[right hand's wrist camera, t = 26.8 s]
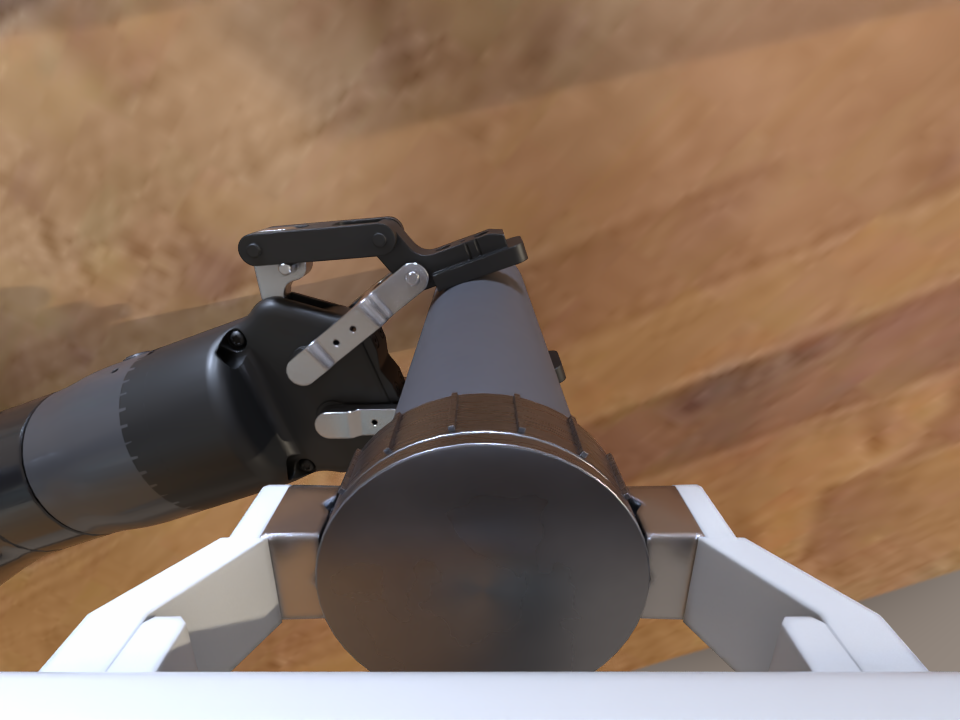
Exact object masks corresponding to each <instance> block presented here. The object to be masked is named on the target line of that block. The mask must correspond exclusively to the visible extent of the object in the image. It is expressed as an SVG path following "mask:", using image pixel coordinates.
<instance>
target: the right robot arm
mask: <svg viewBox="0 0 960 720" xmlns="http://www.w3.org/2000/svg"><path fill="white" fill-rule="evenodd" d="M626 487H627V490H628V492H629V494H630V496H631V498H629V499H628V502H629V504H630V506H631V509H632V511H633V513H634V516H635V518H636V520H637V523H638V525H639V527H640V530H641V532H642V534H643V537H644V539H645V543H646V547H647V551H648V555H649V564H650V582H649V592H648V596H647V600H646V603H645V607H644V610H643V612H642V615H641V617H640V618H649V619H683V622H684V623H685V624H686V625H687V626H688V627H689V628H690V629H691V630H692V631H693V632H694V633H695V634H697V635H698V636H699V637H700V638H701V639H702V640H703V641H704V642H705V643H706V644H707V645H708V646H709V647H710V648H711V649H712V650H713V651H714V652H715V653H716V654H717V655H719V657H721V658H722V659H723V660H724V661H725V662H726V663H727V664H728V665H729V666H730V667H731V668H732V669H733V670H734V671H735V672H231V671H232V670H233V669H234V668H235V667H236V666H237V665H238V664H239V663H240V662H241V661H242V660H243V659H244V658H245V657H246V656H247V655H248V654H249V653H251V652H252V651H253V650H254V649H255V648H256V647H257V646H258V645H259V644H260V643H261V642H262V641H263V640H264V639H265V638H266V637H267V636H268V635H269V634H270V633H271V632H272V631H273V630H274V629H275V628H276V627H277V626H279V625H280V624H281V623H282V619H315V618H325V617H324V614H323V612H322V609H321V606H320V604H319V599H318V594H317V589H316V575H315V566H316V559H317V552H318V548H319V545H320V542H321V538H322V535H323V532H324V530H325V528H326V525H327V523H328V521H329V514H330V511H331V509H333V508H334V506H335V504H336V501H337V499H338V496H339V494H340V493H338V491H339V488H340V486H324V485H267V486H264V487H263V488H262V489H261V491H260V492H259V494H258V495H257V497H256V498H255V500H254V501H253V503H252V504H251V506H250V507H249V509H248V510H247V512H246V513H245V515H244V516H243V518H242V519H241V521H240V522H239V524H238V525H237V527H236V528H235V530H234V531H233V533H232V534H231V536H230V537H229V538H220V539H218V540H216V541H215V542H213V543H211V544H209V545H208V546H206V547H204V548H202V549H201V550H199V551H197V552H196V553H194V554H192V555H190V556H189V557H187V558H185V559H183V560H182V561H180V562H178V563H176V564H175V565H173V566H171V567H169V568H168V569H166V570H164V571H162V572H161V573H159V574H157V575H155V576H154V577H152V578H150V579H148V580H147V581H145V582H143V583H141V584H140V585H138V586H136V587H134V588H133V589H131V590H129V591H127V592H126V593H124V594H122V595H121V596H119V597H117V598H115V599H114V600H112V601H110V602H108V603H107V604H105V605H103V606H101V607H100V608H98V609H96V610H94V611H93V612H91V613H89V614H88V615H87V616H86V617H85V618H84V619H83V620H82V622H81V623H80V624H79V625H78V626H77V627H76V629H75V630H74V631H73V632H72V633H71V634H70V636H69V637H68V638H67V639H66V640H65V641H64V642H63V644H62V645H61V646H60V647H59V648H58V649H57V651H56V652H55V653H54V654H53V655H52V656H51V658H50V659H49V660H48V661H47V662H46V663H45V664H44V666H43V667H42V668H41V669H40V670H39V671H38V672H0V720H960V672H929V670H928V669H927V668H926V667H925V666H924V665H923V664H922V662H921V661H920V660H919V659H918V658H917V657H916V656H915V654H914V653H913V652H912V651H911V650H910V649H909V648H908V646H907V645H906V644H905V643H904V642H903V641H902V640H901V638H900V637H899V636H898V635H897V634H896V633H895V631H894V630H893V629H892V628H891V627H890V626H889V625H888V623H887V622H886V621H885V620H884V619H883V618H882V617H881V615H879V614H877V613H876V612H874V611H872V610H870V609H869V608H867V607H865V606H863V605H862V604H860V603H858V602H856V601H855V600H853V599H851V598H849V597H848V596H846V595H844V594H842V593H841V592H839V591H837V590H835V589H834V588H832V587H830V586H828V585H827V584H825V583H823V582H821V581H819V580H818V579H816V578H814V577H812V576H811V575H809V574H807V573H805V572H804V571H802V570H800V569H798V568H797V567H795V566H793V565H791V564H790V563H788V562H786V561H784V560H783V559H781V558H779V557H777V556H776V555H774V554H772V553H770V552H769V551H767V550H765V549H763V548H762V547H760V546H758V545H756V544H755V543H753V542H751V541H749V540H748V539H746V538H736V536H735V535H734V533H733V532H732V530H731V529H730V528H729V526H728V525H727V523H726V522H725V520H724V519H723V517H722V516H721V514H720V513H719V512H718V510H717V509H716V507H715V506H714V504H713V503H712V501H711V500H710V498H709V497H708V496H707V494H706V493H705V491H704V490H703V488H702V487H701V486H699V485H697V484H694V485H672V486H626Z"/></svg>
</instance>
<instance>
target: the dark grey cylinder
mask: <svg viewBox="0 0 960 720" xmlns="http://www.w3.org/2000/svg"><path fill="white" fill-rule="evenodd" d="M454 392H458V395H462V394H478V393H490V394H502V395H509V396H514V393H516V394H520V398H524V399H528V400H531V401H534V402H537V403H540V404H543V405H545V406H547V407H549V408H552V409H554V410H556V411H558V412H560V413H562V414H563V415H565V416H567V417H569V416H570V415H571V414H570V411H569V409H568V406H567V403H566V400H565V397H564V394H563V392H562V389H561V386H560V383H559V380H558V377H557V375H556V372H555V369H554V366H553V363H552V361H551V358H550V355H549V352H548V349H547V346H546V344H545V341H544V338H543V335H542V332H541V329H540V327H539V324H538V321H537V318H536V315H535V313H534V310H533V307H532V304H531V301H530V298H529V296H528V293H527V290H526V287H525V284H524V282H523V279H522V276H521V274H520V272H519V270H518V269H517V267H516V266H515V265H513V266H511V267H508V268H505V269H502V270H499V271H496V272H494V273H491V274H488V275H485V276H482V277H479V278H477V279H474V280H471V281H468V282H465V283H462V284H459V285H457V286H454V287H451V288H448V289H445V290H443V291H440V292H438V290H437V287H436V290H435V293H434V296H433V299H432V302H431V305H430V308H429V311H428V314H427V317H426V320H425V323H424V326H423V329H422V332H421V335H420V338H419V341H418V344H417V347H416V351H415V354H414V357H413V360H412V363H411V366H410V369H409V372H408V375H407V378H406V381H405V384H404V387H403V390H402V393H401V396H400V399H399V402H398V405H397V408H396V411H395V414H396V413H398V412H400V413H401V414H403V413H405V412H407V411H409V410H411V409H413V408H416V407H418V406H420V405H423V404H425V403H428V402H431V401H434V400H438V399H441V398H445V397H450V396H451V394H452V393H454ZM395 414H394V416H395ZM393 419H394V417H393Z"/></svg>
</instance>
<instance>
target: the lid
mask: <svg viewBox="0 0 960 720" xmlns="http://www.w3.org/2000/svg"><path fill="white" fill-rule="evenodd" d="M338 493H340V494H339V496H338V499H337V501H336V504H335V506H334V508H333V509H331V511H330V514H329V521H328V523H327V525H326V528H325V530H324V532H323V535H322V538H321V542H320V545H319V548H318V552H317V559H316V566H315V575H316V589H317V594H318V599H319V604H320V606H321V609H322V612H323V614H324V617H325V620H326V621H327V623H328V625H329V627H330V628H331V630H332V632H333V634H334V635H335V637H336V638H337V639H338V641H339V642H340V643H341V645H342V646H343V647H344V648H345V649H346V650H347V651H348V652H349V653H350V654H351V655H352V656H353V657H354V658H355V659H356V661H358V662H359V663H360V664H361V665H363V666H364V667H365V668H367V669H368V670H369V671H370V672H594V671H596V670H597V669H598V668H600V667H601V666H602V665H604V664H605V663H606V662H607V661H608V660H609V659H610V658H611V657H612V656H614V655H615V654H616V653H617V652H618V650H619V649H620V648H621V647H622V646H623V644H624V643H625V642H626V641H627V640H628V638H629V637H630V635H631V634H632V632H633V630H634V629H635V627H636V626H637V624H638V622H639V619H640V617H641V615H642V612H643V610H644V607H645V603H646V600H647V596H648V592H649V582H650V564H649V555H648V551H647V547H646V543H645V539H644V537H643V534H642V532H641V530H640V527H639V525H638V523H637V520H636V518H635V516H634V513H633V511H632V509H631V506H630V504H629V502H628V499H629V498H631V496H630V494H629V492H628V490H627V487H626V485H625V483H624V481H623V478H622V476H621V474H620V472H619V469H618V467H617V465H616V463H615V460H614V458H613V456H612V454H611V453H609V454H607V455H606V453H605V452H604V450H603V449H602V447H601V446H600V445H599V444H598V443H597V442H596V440H595V439H594V438H593V437H592V436H591V435H590V434H589V433H588V432H587V431H585V430H584V429H583V428H582V427H581V426H580V425H578V424H577V421H576V419H575V417H573V416H572V415H570V416H569V417H567V416H565V415H563V414H562V413H560V412H558V411H556V410H554V409H552V408H549V407H547V406H545V405H543V404H540V403H537V402H534V401H531V400H528V399H524V398H520V394H516V393H514V396H509V395H502V394H490V393H478V394H462V395H458V392H454V393H452V394H451V396H450V397H445V398H441V399H438V400H434V401H431V402H428V403H425V404H423V405H420V406H418V407H416V408H413V409H411V410H409V411H407V412H405V413H403V414H401V413H400V412H398V413H396V414H395V416H394V419H393V420H392V421H390V422H389V423H388V424H387V425H385V426H384V427H383V428H382V429H380V430H379V431H378V432H377V433H376V434H375V435H374V436H373V437H372V438H371V439H370V440H369V441H368V442H367V443H366V444H365V446H364V447H363V449H362V450H360V449H358V448H357V450H356V451H355V453H354V455H353V458H352V460H351V462H350V465H349V467H348V469H347V472H346V474H345V476H344V479H343V481H342V484H341V486H340V488H339V491H338Z"/></svg>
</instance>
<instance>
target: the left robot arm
mask: <svg viewBox="0 0 960 720" xmlns="http://www.w3.org/2000/svg"><path fill="white" fill-rule="evenodd" d="M238 251H239V254H240V256H241V258H242V259H243V260H244V261H245V262H246V263H247V264H249V265H252V266H254V268H255V272H256V277H257V281H258V285H259V289H260V293H261V298H262V300H261V301H260V302H259V303H257V304H256V305H255V307H254V308H253V309H252V311H251V312H250V313H249V315H248V316H246V317H244V318H241V319H238V320H235V321H233V322H230V323H227V324H224V325H222V326H219V327H216V328H213V329H211V330H208V331H205V332H202V333H200V334H197V335H194V336H191V337H189V338H186V339H183V340H180V341H178V342H175V343H172V344H169V345H167V346H164V347H161V348H158V349H156V350H153V351H145V352H141V353H138V354H134V355H131V356H129V357H127V358H126V359H125V360H123V362H120V363H117V364H114V365H112V366H109V367H107V368H104V369H102V370H99V371H97V372H95V373H92V374H90V375H89V376H87V377H85V378H83V379H81V380H79V381H78V382H76V383H74V384H72V385H70V386H69V387H67V388H65V389H62V390H60V391H58V392H54V393H52V394H49V395H46V396H43V397H41V398H38V399H35V400H32V401H30V402H27V403H24V404H21V405H18V406H16V407H13V408H10V409H7V410H4V411H1V412H0V586H1V585H2V584H3V583H5V582H6V581H7V580H9V579H10V578H11V577H13V576H14V575H15V574H17V573H18V572H19V571H21V570H22V569H24V568H25V567H27V566H29V565H30V564H32V563H33V562H35V561H37V560H38V559H40V558H42V557H44V556H46V555H48V554H51V553H53V552H56V551H59V550H62V549H65V548H68V547H71V546H74V545H77V544H80V543H84V542H87V541H90V540H93V539H96V538H99V537H102V536H106V535H109V534H111V533H115V532H119V531H123V530H129V529H137V528H143V527H148V526H153V525H157V524H161V523H165V522H168V521H172V520H175V519H178V518H181V517H184V516H187V515H190V514H193V513H196V512H200V511H203V510H206V509H209V508H212V507H215V506H219V505H222V504H225V503H228V502H231V501H235V500H238V499H241V498H244V497H247V496H250V495H254V494H257V493H259V492H260V491H261V489H262V488H263V487H264V486H267V485H285V484H288V483H291V482H293V481H296V480H298V479H300V478H302V477H304V476H307V475H309V474H311V473H313V472H316V471H336V472H347V469H348V467H349V465H350V462H351V460H352V458H353V455H354V453H355V451H356V450H357V448H358V449H360V450H362V449H363V447H364V446H365V444H366V443H367V442H368V441H369V440H370V439H371V438H372V437H373V436H374V435H375V434H376V433H377V432H378V431H379V430H380V429H382V428H383V427H384V426H385V425H387V424H388V423H389V422H390V421H392V420H393V417H394V414H395V411H396V408H397V405H398V402H399V399H400V396H401V393H402V390H403V387H404V384H405V381H406V378H407V377H403V375H402V372H401V370H400V368H399V366H398V365H397V364H396V363H395V361H394V360H393V359H392V358H391V356H390V355H389V354H388V350H387V343H386V337H385V334H384V332H383V329H382V327H381V326H382V325H383V324H384V323H385V322H386V321H387V320H388V319H389V318H390V317H391V316H392V315H393V314H395V313H396V312H397V311H398V310H400V309H401V308H402V307H403V306H405V305H406V304H407V303H408V302H410V301H411V300H412V299H413V298H415V297H416V296H417V295H418V294H420V293H421V292H422V291H423V290H426V289H429V288H431V287H434V286H436V287H437V290H438V292H440V291H443V290H445V289H448V288H451V287H454V286H457V285H459V284H462V283H465V282H468V281H471V280H474V279H477V278H479V277H482V276H485V275H488V274H491V273H494V272H496V271H499V270H502V269H505V268H508V267H511V266H513V265H516V264H519V263H521V262H523V261H525V260H527V259H528V256H527V253H526V250H525V247H524V244H523V241H522V239H521V237H520V236H516V237H512V238H509V239H505V236H504V233H503V230H502V229H487V230H485V231H482V232H479V233H477V234H474V235H471V236H468V237H466V238H463V239H460V240H457V241H455V242H452V243H449V244H446V245H444V246H441V247H438V248H435V249H423V248H421V247H419V246H418V245H416V244H415V243H414V242H413V241H412V239H411V238H410V237H409V236H408V235H407V234H406V232H405V231H404V228H403V225H402V223H401V222H400V221H399V220H398V219H396V218H394V217H376V218H365V219H353V220H341V221H329V222H318V223H306V224H294V225H283V226H273V227H269V228H266V229H263V230H260V231H257V232H254V233H251V234H248V235H246V236H244V237H243V238H242V239H241V240H240V242H239V244H238ZM375 256H377V257H378V258H379V259H380V260H381V261H382V263H383V264H384V265H385V266H386V267H387V268H388V269H389V270H390V273H388V274H387V275H386V276H385V277H384V278H382V279H381V280H379V281H378V282H377V283H375V284H374V285H373V286H372V287H371V288H369V289H368V290H367V291H366V292H365V293H363V294H362V295H361V296H360V297H359V298H357V299H356V300H355V301H354V302H353V303H351V304H350V305H349V306H348V307H346V306H342V305H338V304H335V303H331V302H328V301H324V300H320V299H317V298H313V297H309V296H306V295H302V294H299V293H295V292H291V285H292V282H293V281H295V280H298V279H300V278H302V277H303V276H305V275H306V274H307V273H309V272H310V271H311V269H312V266H313V262H315V261H327V260H339V259H351V258H363V257H375ZM548 352H549V355H550V358H551V361H552V363H553V366H554V369H555V372H556V375H557V377H558V380H559V383H561V382H563V381H564V380H565V378H566V376H565V373H564V370H563V366H562V363H561V361H560V358H559V356H558V353H557V352H556V351H548Z"/></svg>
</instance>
